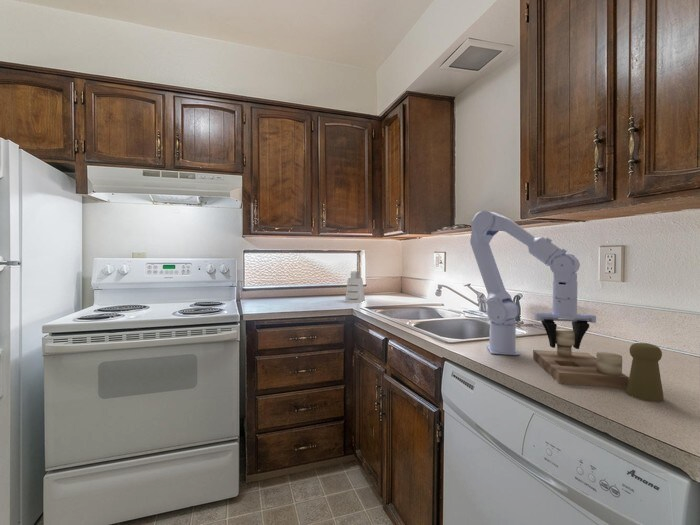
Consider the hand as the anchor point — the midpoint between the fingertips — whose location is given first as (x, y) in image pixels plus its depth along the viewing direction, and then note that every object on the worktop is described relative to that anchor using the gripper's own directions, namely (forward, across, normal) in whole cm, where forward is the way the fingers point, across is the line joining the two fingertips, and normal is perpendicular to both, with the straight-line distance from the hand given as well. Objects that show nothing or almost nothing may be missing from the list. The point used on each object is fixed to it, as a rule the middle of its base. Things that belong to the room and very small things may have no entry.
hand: (564, 347), depth 95 cm
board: (+4, 0, -7) cm, 8 cm away
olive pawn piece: (+5, +8, -21) cm, 23 cm away
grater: (+5, -82, +113) cm, 140 cm away
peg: (+2, 0, 0) cm, 2 cm away
